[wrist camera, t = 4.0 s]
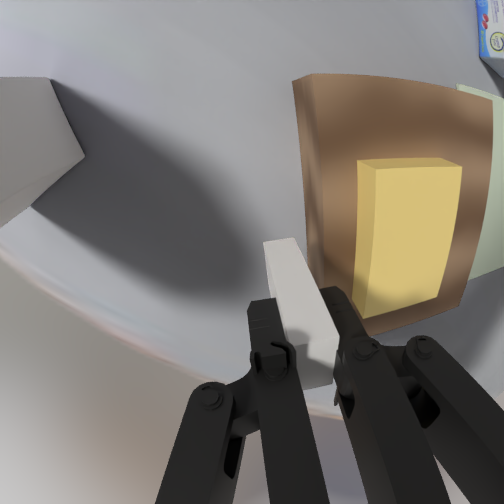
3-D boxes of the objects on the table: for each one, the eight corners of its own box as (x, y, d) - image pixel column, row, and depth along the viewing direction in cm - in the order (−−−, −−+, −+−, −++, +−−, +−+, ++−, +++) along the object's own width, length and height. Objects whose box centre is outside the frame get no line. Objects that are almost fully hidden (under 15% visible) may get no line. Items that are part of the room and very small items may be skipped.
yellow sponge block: (357, 160, 13) (375, 169, 11) (440, 157, 13) (462, 166, 11) (351, 298, 17) (362, 318, 15) (422, 280, 17) (436, 296, 15)
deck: (292, 81, 14) (311, 73, 10) (457, 94, 14) (492, 100, 11) (308, 314, 23) (321, 348, 19) (436, 282, 23) (458, 306, 19)
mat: (456, 83, 13) (458, 83, 13) (526, 109, 14) (528, 109, 13) (434, 289, 23) (436, 291, 23) (504, 264, 24) (505, 265, 23)
